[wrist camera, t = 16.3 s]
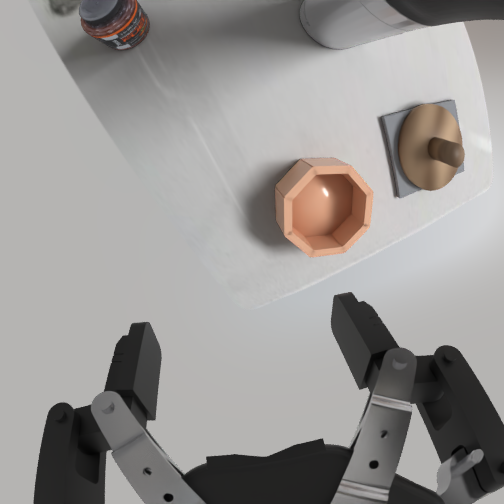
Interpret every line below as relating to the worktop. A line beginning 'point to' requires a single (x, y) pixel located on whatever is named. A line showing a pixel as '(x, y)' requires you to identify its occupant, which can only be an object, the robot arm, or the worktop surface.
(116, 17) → the supplement bottle
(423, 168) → the lid
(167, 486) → the robot arm
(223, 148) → the worktop surface
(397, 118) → the mat
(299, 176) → the bowl
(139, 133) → the worktop surface
